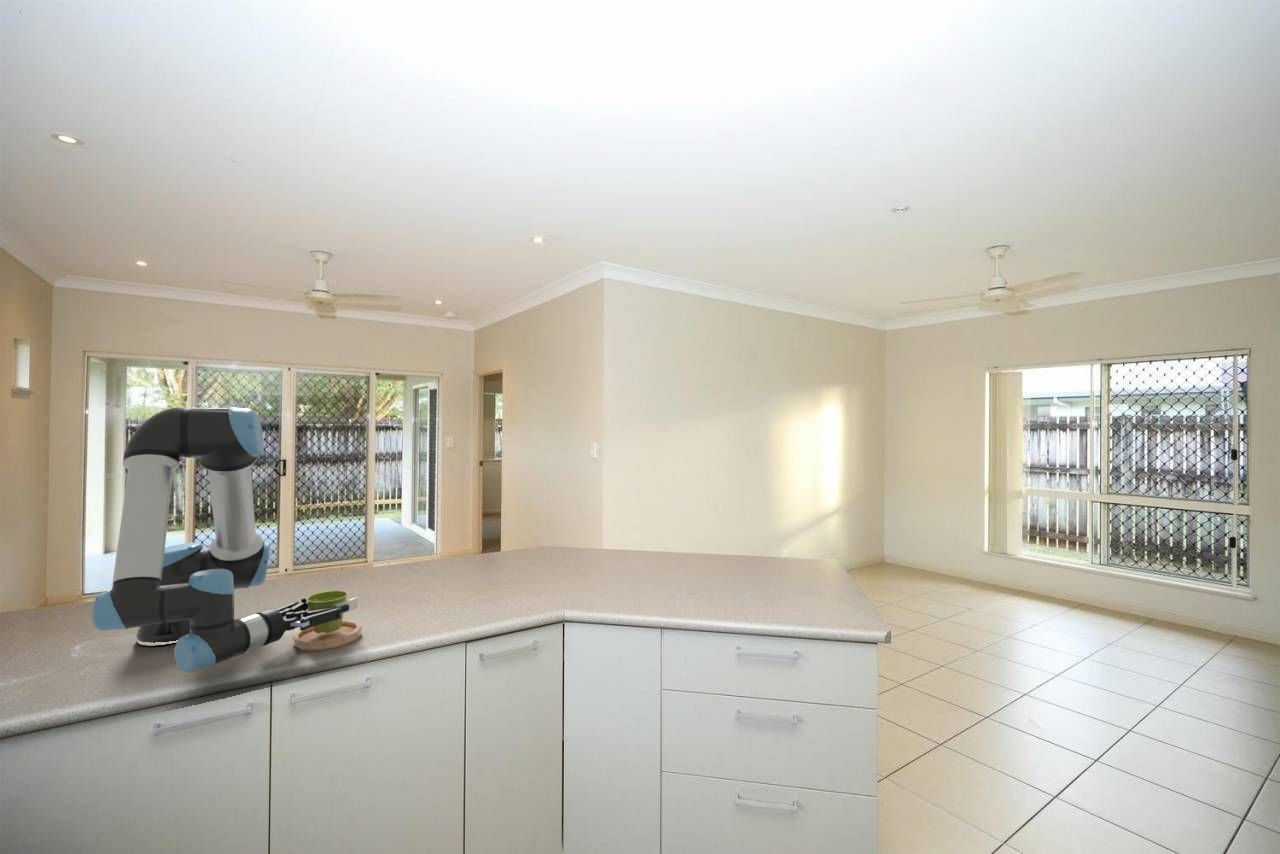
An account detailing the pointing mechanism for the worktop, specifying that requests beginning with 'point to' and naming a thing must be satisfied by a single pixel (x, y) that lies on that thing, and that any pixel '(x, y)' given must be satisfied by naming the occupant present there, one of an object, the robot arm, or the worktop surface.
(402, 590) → the worktop surface
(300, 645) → the saucer
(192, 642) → the robot arm
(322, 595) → the plant pot
